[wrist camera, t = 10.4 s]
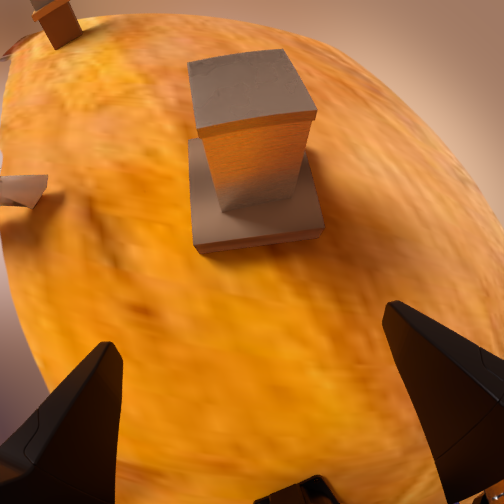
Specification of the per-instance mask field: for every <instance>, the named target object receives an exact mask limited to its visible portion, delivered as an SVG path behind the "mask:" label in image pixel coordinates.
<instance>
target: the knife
mask: <svg viewBox="0 0 504 504" xmlns="http://www.w3.org/2000/svg"><path fill="white" fill-rule="evenodd" d="M30 1H31V3H32V5H33V7H34V9H35V11H34V12H33V14H32V15H31V16H32V18H33V20H34V22H36V21H37V20H39V22H40V24H41V26H42V28H43V29H44V31H45V33H46V35H47V37H48V38H49V40H50V42H51V44H52V46H53V47H54V49H55V50H57V49H58V48H60V47H61V46H63V45H65V44H66V43H68V42H70V41H71V40H73V39H75V38H77V37H78V36H80V35H82V29H81V27H80V25H79V23H78V21H77V19H76V16H75V14H74V12H73V10H72V8H71V5H70V3H69V1H70V0H30Z"/></svg>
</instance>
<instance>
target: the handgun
mask: <svg viewBox="0 0 504 504" xmlns="http://www.w3.org/2000/svg"><path fill="white" fill-rule="evenodd" d="M0 170H1V168H0ZM47 180H48V175H20V176H0V206H21V207H28V208H31V209H33V208H34V206H35V205H36V203H37V202H38V200H39V198H40V197H41V195H42V194H43V192H44V191H45V189H46V188H47Z"/></svg>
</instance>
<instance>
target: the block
mask: <svg viewBox="0 0 504 504" xmlns="http://www.w3.org/2000/svg"><path fill="white" fill-rule="evenodd" d="M188 153H189V181H190V202H191V218H192V233H193V245H194V247H195V248H196V250H197V251H198V252H199V254H203V253H210V252H217V251H225V250H232V249H240V248H247V247H254V246H262V245H269V244H277V243H284V242H292V241H299V240H307V239H314V238H319V236H320V235H321V233H322V232H323V230H324V229H325V225H324V221H323V217H322V212H321V208H320V204H319V200H318V196H317V192H316V188H315V185H314V181H313V177H312V173H311V170H310V166H309V163H308V159H307V155H306V152H305V151H304V155H303V159H302V163H301V167H300V171H299V175H298V178H297V182H296V186H295V190H294V194H293V197H292V198H290V199H285V200H280V201H275V202H270V203H265V204H260V205H255V206H250V207H245V208H240V209H236V210H231V211H226V212H221V209H220V205H219V201H218V198H217V194H216V190H215V187H214V183H213V179H212V176H211V172H210V168H209V164H208V161H207V157H206V153H205V149H204V146H203V142H202V139H199V138H195V139H190V140H188Z"/></svg>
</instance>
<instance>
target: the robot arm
mask: <svg viewBox="0 0 504 504" xmlns="http://www.w3.org/2000/svg"><path fill="white" fill-rule="evenodd" d="M382 326H383V329H384V332H385V335H386V338H387V341H388V343H389V346H390V349H391V352H392V355H393V358H394V361H395V364H396V366H397V369H398V371H399V373H400V375H401V378H402V380H403V382H404V384H405V387H406V389H407V391H408V394H409V396H410V398H411V401H412V403H413V406H414V408H415V410H416V413H417V415H418V418H419V420H420V423H421V426H422V428H423V431H424V433H425V436H426V439H427V441H428V444H429V447H430V450H431V453H432V455H433V458H434V461H435V465H436V468H437V471H438V474H439V477H440V480H441V483H442V487H443V490H444V493H445V497H446V500H447V504H455V503H457V502H459V501H462V500H464V499H466V498H469V497H471V496H473V495H475V494H477V493H479V492H481V491H484V492H483V493H482V494H481V495H479V496H478V497H476V498H475V499H474V501H473V503H472V504H504V360H503V359H501V358H499V357H497V356H495V355H493V354H492V353H490V352H488V351H486V350H485V349H483V348H481V347H479V346H478V345H476V344H475V343H473V342H471V341H469V340H468V339H466V338H464V337H463V336H461V335H459V334H457V333H456V332H454V331H452V330H451V329H449V328H447V327H445V326H444V325H442V324H440V323H438V322H437V321H435V320H433V319H431V318H430V317H428V316H426V315H424V314H423V313H421V312H419V311H417V310H415V309H414V308H412V307H410V306H408V305H406V304H405V303H403V302H401V301H399V300H396V301H392V302H388V303H387V304H386V307H385V312H384V316H383V320H382ZM122 379H123V359H122V357H121V355H120V353H119V352H118V350H117V349H116V347H115V345H114V344H113V343H112V342H110V341H109V342H100V343H99V344H98V345H97V346H96V347H95V348H94V349H93V350H92V351H91V352H90V353H89V354H88V355H87V356H86V357H85V358H84V359H83V360H82V361H81V362H80V363H79V364H78V365H77V367H76V368H75V369H74V370H73V371H72V372H71V373H70V374H69V375H68V376H67V377H66V378H65V379H64V380H63V381H62V382H61V383H60V384H59V385H58V387H57V388H56V389H55V390H54V391H53V392H52V393H51V394H50V395H49V396H48V397H47V398H46V400H45V401H44V402H43V403H42V404H41V405H40V406H39V408H38V409H36V410H35V412H34V413H33V414H32V415H31V416H30V417H29V418H28V419H27V420H26V421H25V422H24V423H23V424H22V425H21V426H20V427H19V428H18V429H17V430H16V432H14V433H13V434H12V435H11V436H10V437H9V438H8V439H7V440H6V441H5V442H4V443H3V444H2V445H1V446H0V504H115V473H116V455H117V442H118V431H119V422H120V413H121V404H122ZM316 479H319V480H318V481H314V480H316ZM253 504H340V503H339V502H338V500H337V499H336V498H335V496H334V495H333V493H332V492H331V490H330V489H329V487H328V486H327V485H326V483H325V482H324V480H323V479H322V477H321V476H320V475H314V476H312V477H310V478H308V479H306V480H304V481H302V482H300V483H297V484H293V485H291V486H289V487H287V488H284V489H282V490H279V491H277V492H274V493H272V494H270V495H269V496H266V497H263V498H261V499H258V500H255V501H254V502H253Z"/></svg>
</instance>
